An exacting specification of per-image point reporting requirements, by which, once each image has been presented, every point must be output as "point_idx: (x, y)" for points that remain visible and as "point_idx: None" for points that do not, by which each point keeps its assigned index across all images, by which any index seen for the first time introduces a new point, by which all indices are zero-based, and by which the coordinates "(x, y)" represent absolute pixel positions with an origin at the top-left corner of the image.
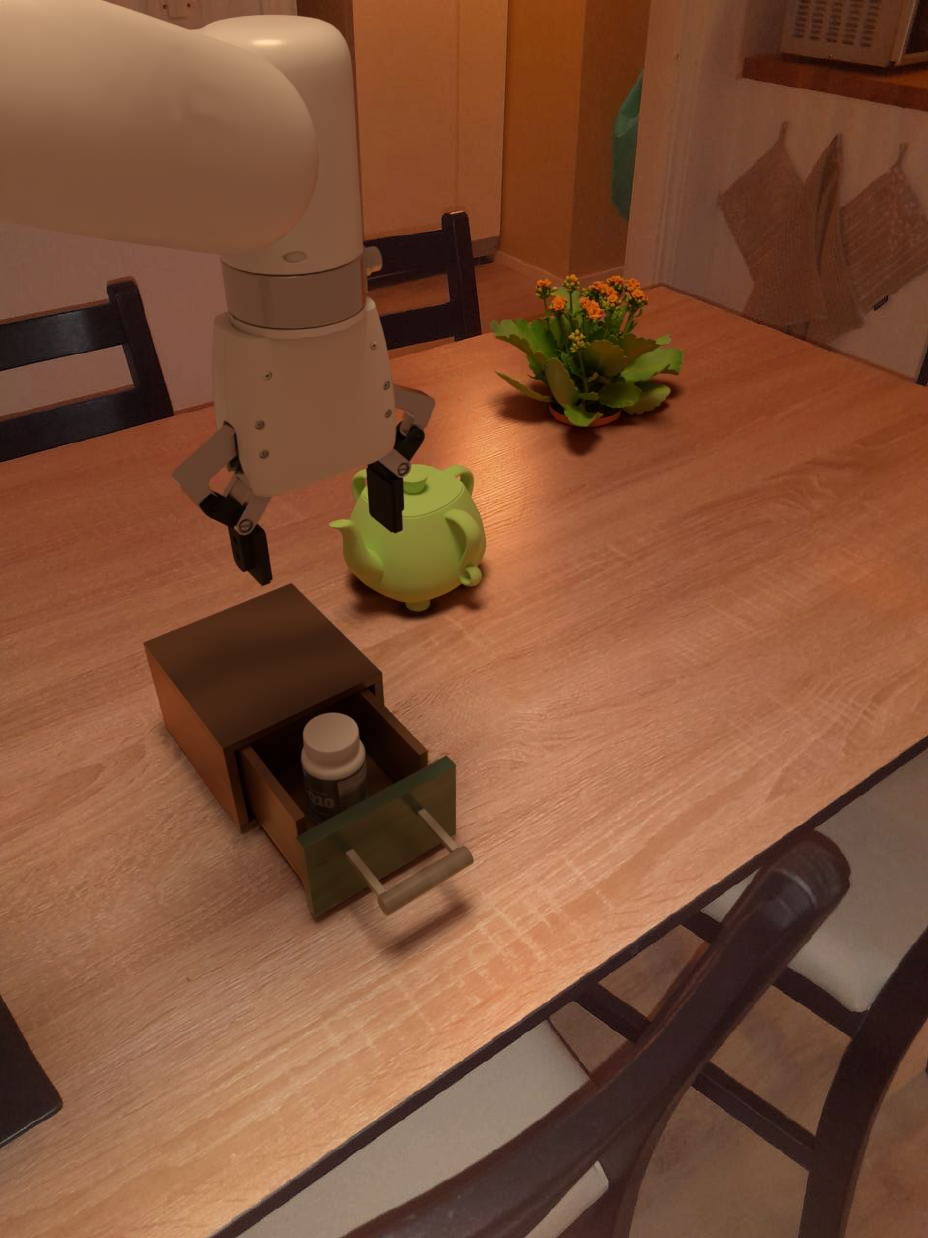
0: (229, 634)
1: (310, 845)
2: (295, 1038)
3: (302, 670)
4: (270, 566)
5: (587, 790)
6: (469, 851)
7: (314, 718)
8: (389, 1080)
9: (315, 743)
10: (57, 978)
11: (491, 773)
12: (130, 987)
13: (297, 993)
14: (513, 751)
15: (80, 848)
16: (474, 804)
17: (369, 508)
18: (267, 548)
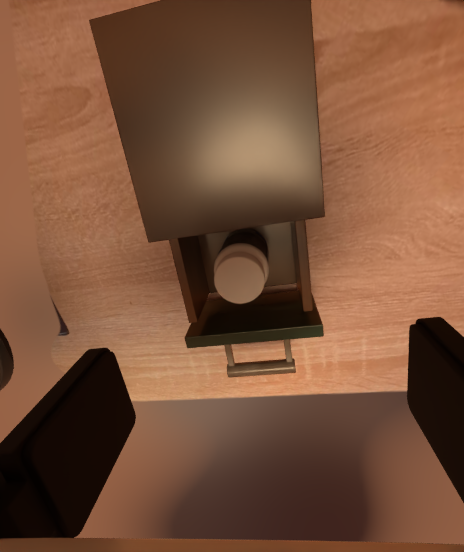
0: (191, 57)
1: (192, 347)
2: (175, 355)
3: (249, 171)
4: (122, 448)
5: (419, 301)
6: (295, 371)
7: (231, 259)
8: (209, 390)
9: (221, 288)
10: (63, 269)
11: (369, 254)
12: (101, 292)
13: (182, 336)
14: (400, 242)
15: (73, 178)
16: (340, 273)
17: (419, 331)
18: (100, 488)
